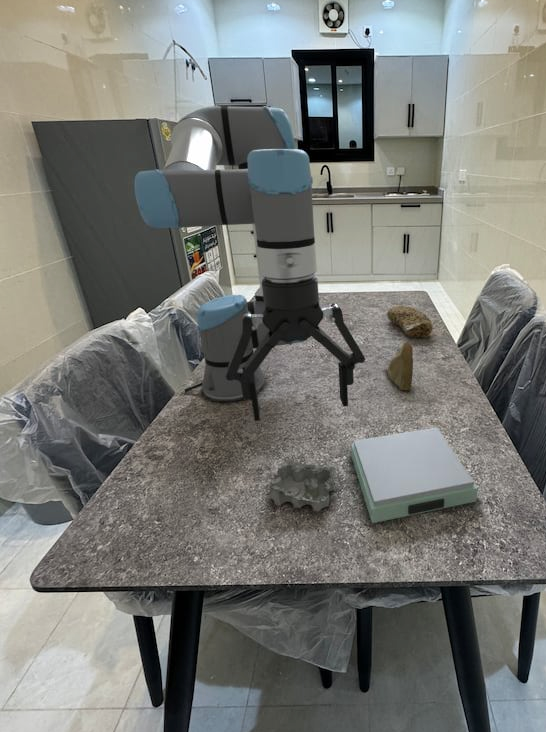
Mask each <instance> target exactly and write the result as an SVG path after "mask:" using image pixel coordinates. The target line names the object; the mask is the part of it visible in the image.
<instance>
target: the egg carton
mask: <svg viewBox="0 0 546 732" xmlns="http://www.w3.org/2000/svg"><path fill="white" fill-rule="evenodd" d="M335 468H336V467H335V466H325V467H322V466H320V465H319V466H317V465H316V464H315V463H314V464H313V463H312V464H311V463H301V462H298V461H296V460H287V461H285V462H283V463H282V464H280V465H279V467H278V468H277V470H276V473H274V475H273V479H272V480H269V482H268V483H267V484H266V486H265V487H266V489H267V488H269V496H270V497H269V498H270V500H273V502H274V505H276V506H282V504H284V503H288V502H289V503H292V505H293V508H297V509H301V508H302V507H303V506H306V505H310V506H311V508H312V511H313V512H320V511H321V510H322V509H324V508H326V507H328V506H329V504H330V492H333V491H334V489H335V472H336V469H335Z"/></svg>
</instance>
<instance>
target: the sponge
mask: <svg viewBox="0 0 546 732" xmlns="http://www.w3.org/2000/svg"><path fill="white" fill-rule="evenodd" d="M386 316H387V319H388V320H389V321H390V322H391V323H393V324H394V325H396V326H398V327H400V328H401V329H402V330H403V332H404V333H405V335H407V336H409V337H410V338H424V339H425V338H428V337H429V336H431V334H432V332H433V329H434V326H433V323H432V321H431V319H430V318H429V317H428V315H426V314H425V313H423V312H421V311H420V310H418V309H416V308H414V307H411V306H406V305H398V306H394V307H392V308H389V310H387V314H386Z"/></svg>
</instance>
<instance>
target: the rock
mask: <svg viewBox="0 0 546 732" xmlns="http://www.w3.org/2000/svg"><path fill="white" fill-rule="evenodd" d="M413 350H414V349H413V345H412V344H411V343H409V342H407V341H405V342H404V343H403V344H402V345H401V346H400V348H399V349H398V350H397V351H396V353H395V356H394V357H393V358H392V359H391V361H390V362H389V364H388V367H387V369H386V373H387V377H388V379H390V381H391V382H393V383H394V384H395V385H396V386H397V387H398V388H399V390H401V391H410V390H411V387H412V383H413V374H414V370H413V369H414V358H413V357H414V355H413V354H414V353H413V352H414V351H413Z"/></svg>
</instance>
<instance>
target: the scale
mask: <svg viewBox="0 0 546 732" xmlns="http://www.w3.org/2000/svg"><path fill="white" fill-rule="evenodd" d="M350 456H351V460H352V463H353V466H354V470H355V473H356V476H357V479H358V483H359V486H360V489H361V493H362V496H363V499H364V502H365V506H366V508H367V512H368V516H369V519H370V522H371V524H376V523H380V522H386V521H390V520H395V519H400V518H405V517H409V516H413V515H418V514H424V513H427V512H433V511H438V510H444V509H448V508H451V507H457V506H462V505H466V504H470V503H476V502H477V496H478V491H479V490H478V489H479V488H478V486H477V485H476V484H475V481H474V480H473V478H472V477H471V475H470V474H469V472H468V470H467V469H466V468H465V466H464V465H463V463H462V461H461V460H460V459H459V458H458V456H457V454H456V453H455V451H454V449H452V447H451V446H450V444H449V443H448V441H447V440H446V438H445V437H444V435H443V434H442V432H441V431H440V429H439V427H438V426H436V427H429V428H423V429H418V430H417V429H416V430H411V431H405V432H399V433H398V432H397V433H393V434H387V435H381V436H375V437H368V438H362V439H355V440H353V442H351V443H350Z"/></svg>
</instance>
